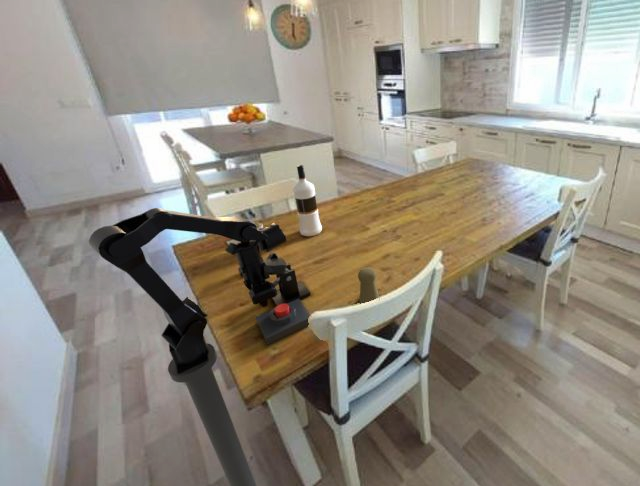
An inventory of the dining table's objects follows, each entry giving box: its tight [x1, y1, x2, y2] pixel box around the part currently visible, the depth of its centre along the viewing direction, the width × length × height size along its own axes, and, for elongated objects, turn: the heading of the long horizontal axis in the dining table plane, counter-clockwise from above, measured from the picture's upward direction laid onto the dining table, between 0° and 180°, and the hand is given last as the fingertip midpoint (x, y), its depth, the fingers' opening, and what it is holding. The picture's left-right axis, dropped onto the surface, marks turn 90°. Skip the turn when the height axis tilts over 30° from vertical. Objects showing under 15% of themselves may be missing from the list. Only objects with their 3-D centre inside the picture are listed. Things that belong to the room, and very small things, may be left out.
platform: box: [225, 221, 264, 246], centre depth 133 cm, size 12×18×7 cm, turn 136°
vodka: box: [292, 164, 323, 237], centre depth 133 cm, size 9×9×30 cm
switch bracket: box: [271, 263, 311, 307], centre depth 98 cm, size 10×8×10 cm
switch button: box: [274, 304, 290, 317], centre depth 87 cm, size 4×4×2 cm
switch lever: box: [272, 268, 289, 288], centre depth 95 cm, size 12×3×3 cm, turn 128°
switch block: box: [255, 299, 311, 345], centre depth 88 cm, size 12×10×4 cm
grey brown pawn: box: [357, 266, 380, 305], centre depth 95 cm, size 6×6×11 cm
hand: (263, 303), depth 95 cm, fingers closed on switch lever, 3 cm apart
